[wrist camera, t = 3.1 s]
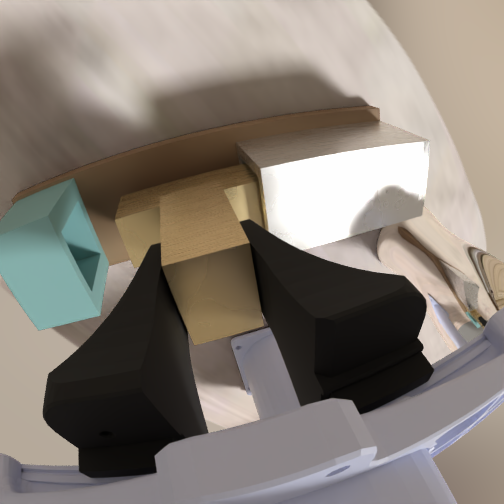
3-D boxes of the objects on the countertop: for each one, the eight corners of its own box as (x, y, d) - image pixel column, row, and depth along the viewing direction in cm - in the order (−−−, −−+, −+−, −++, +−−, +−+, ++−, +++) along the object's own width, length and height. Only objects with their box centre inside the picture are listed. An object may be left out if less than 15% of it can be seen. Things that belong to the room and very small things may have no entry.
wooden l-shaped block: (361, 190, 18) (446, 259, 12) (139, 246, 16) (136, 359, 10) (361, 134, 16) (462, 187, 10) (118, 188, 14) (91, 286, 8)
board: (370, 189, 21) (377, 195, 20) (56, 273, 18) (53, 282, 17) (370, 105, 17) (379, 108, 16) (17, 193, 14) (11, 200, 13)
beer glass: (356, 258, 24) (476, 411, 12) (403, 183, 21) (561, 312, 9) (403, 277, 27) (502, 396, 15) (444, 215, 24) (563, 322, 12)
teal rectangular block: (108, 262, 17) (100, 315, 14) (55, 279, 17) (38, 330, 13) (73, 177, 14) (47, 215, 10) (16, 201, 13) (-17, 242, 10)
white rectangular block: (378, 184, 19) (422, 215, 16) (248, 215, 18) (272, 258, 14) (379, 120, 17) (430, 140, 13) (235, 142, 16) (260, 168, 12)
